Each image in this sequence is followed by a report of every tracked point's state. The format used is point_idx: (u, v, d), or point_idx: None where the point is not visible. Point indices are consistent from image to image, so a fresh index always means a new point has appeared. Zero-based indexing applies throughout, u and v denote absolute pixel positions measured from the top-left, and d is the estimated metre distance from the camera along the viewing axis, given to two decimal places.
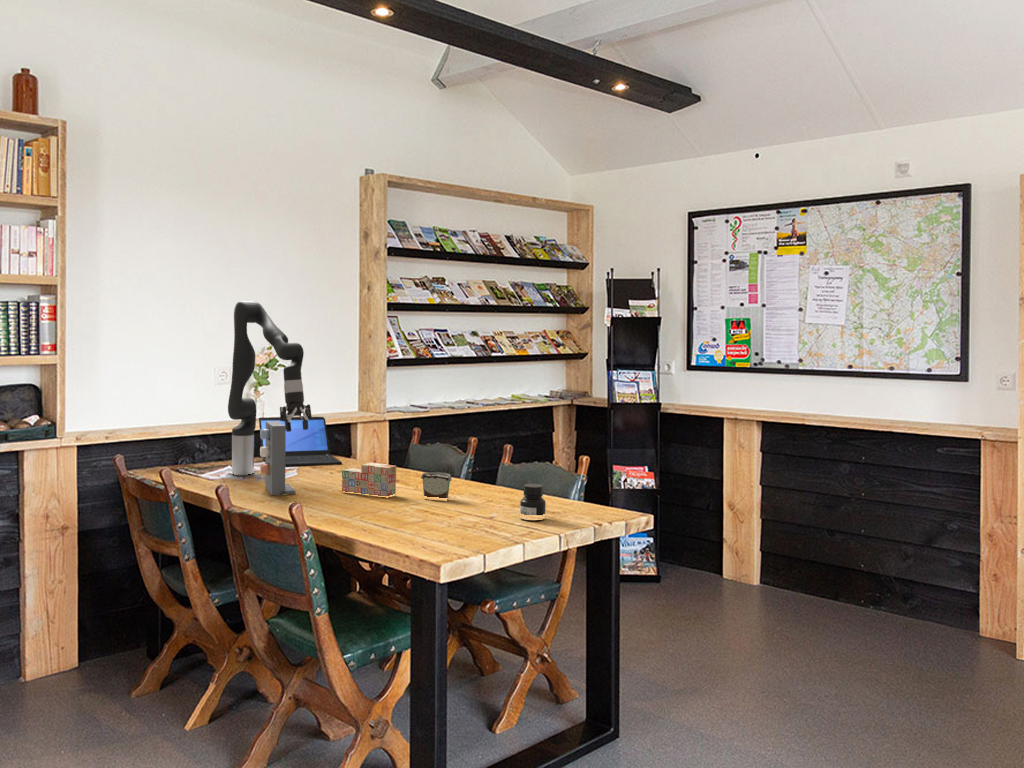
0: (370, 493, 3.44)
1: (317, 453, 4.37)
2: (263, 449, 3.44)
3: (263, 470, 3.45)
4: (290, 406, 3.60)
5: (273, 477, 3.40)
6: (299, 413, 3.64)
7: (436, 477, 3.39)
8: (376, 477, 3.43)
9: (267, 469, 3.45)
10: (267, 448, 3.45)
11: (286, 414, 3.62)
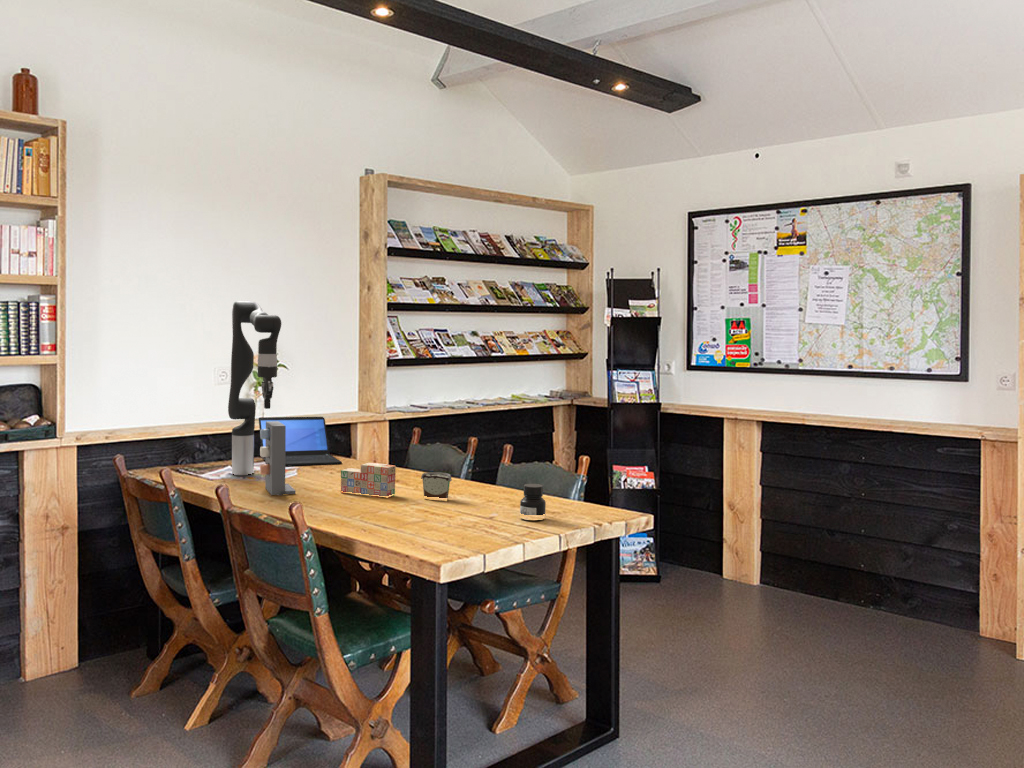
0: (370, 493, 3.44)
1: (317, 453, 4.38)
2: (263, 449, 3.44)
3: (263, 470, 3.45)
4: (271, 381, 3.50)
5: (273, 477, 3.40)
6: None
7: (436, 477, 3.39)
8: (376, 477, 3.43)
9: (267, 469, 3.45)
10: (267, 448, 3.45)
11: (264, 391, 3.51)
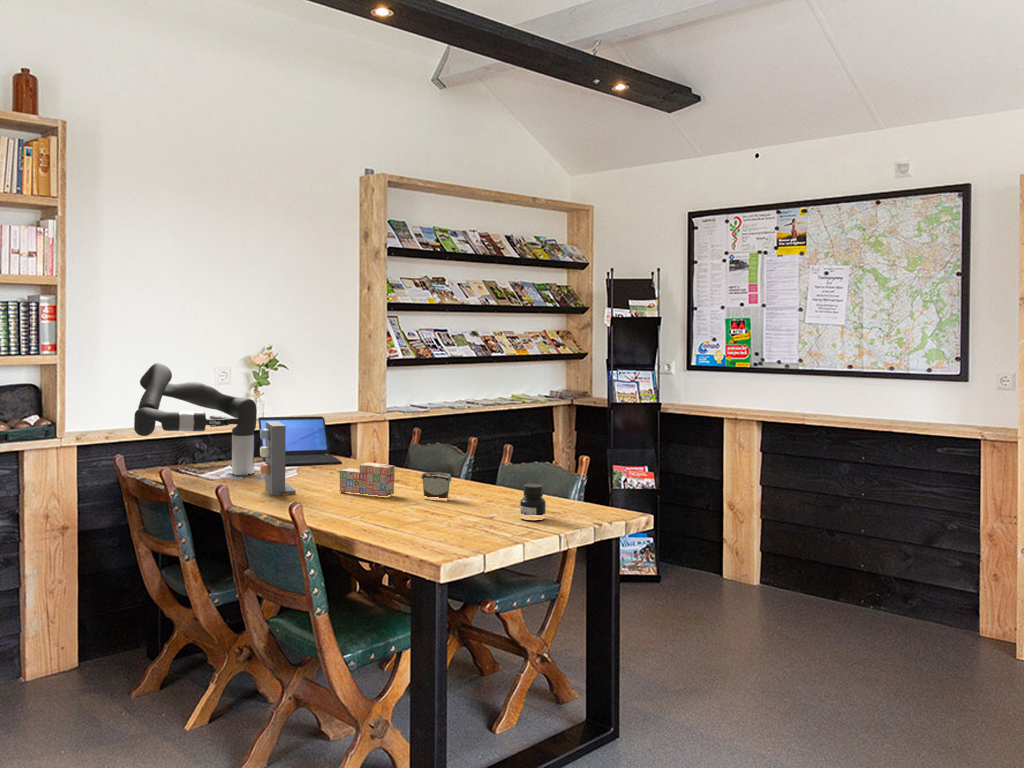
0: (369, 493, 3.44)
1: (317, 453, 4.39)
2: (263, 449, 3.44)
3: (263, 470, 3.45)
4: (210, 419, 3.33)
5: (273, 477, 3.40)
6: None
7: (436, 477, 3.39)
8: (375, 477, 3.43)
9: (267, 469, 3.45)
10: (267, 448, 3.45)
11: None
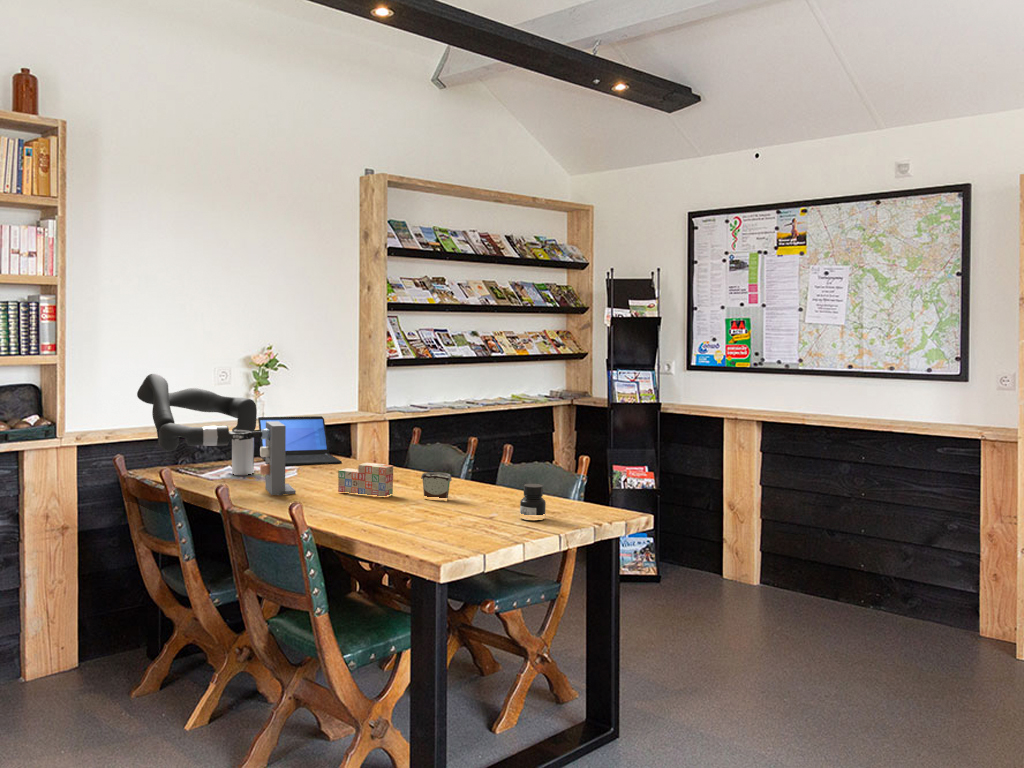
0: (367, 493, 3.44)
1: (316, 452, 4.39)
2: (263, 449, 3.44)
3: (263, 470, 3.45)
4: (233, 433, 3.37)
5: (273, 477, 3.40)
6: None
7: (436, 477, 3.39)
8: (374, 477, 3.43)
9: (267, 469, 3.45)
10: (267, 448, 3.45)
11: None
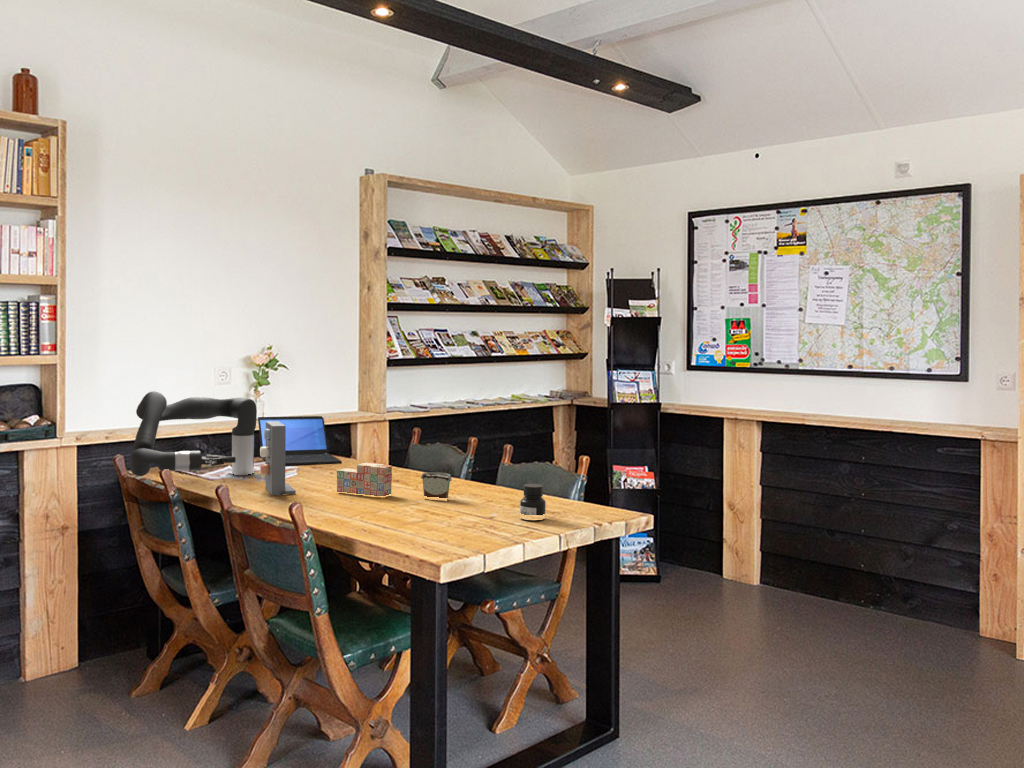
0: (366, 493, 3.44)
1: (316, 452, 4.40)
2: (263, 449, 3.44)
3: (263, 470, 3.45)
4: (206, 458, 3.34)
5: (273, 477, 3.40)
6: None
7: (436, 477, 3.39)
8: (372, 477, 3.42)
9: (267, 469, 3.45)
10: (267, 448, 3.45)
11: None
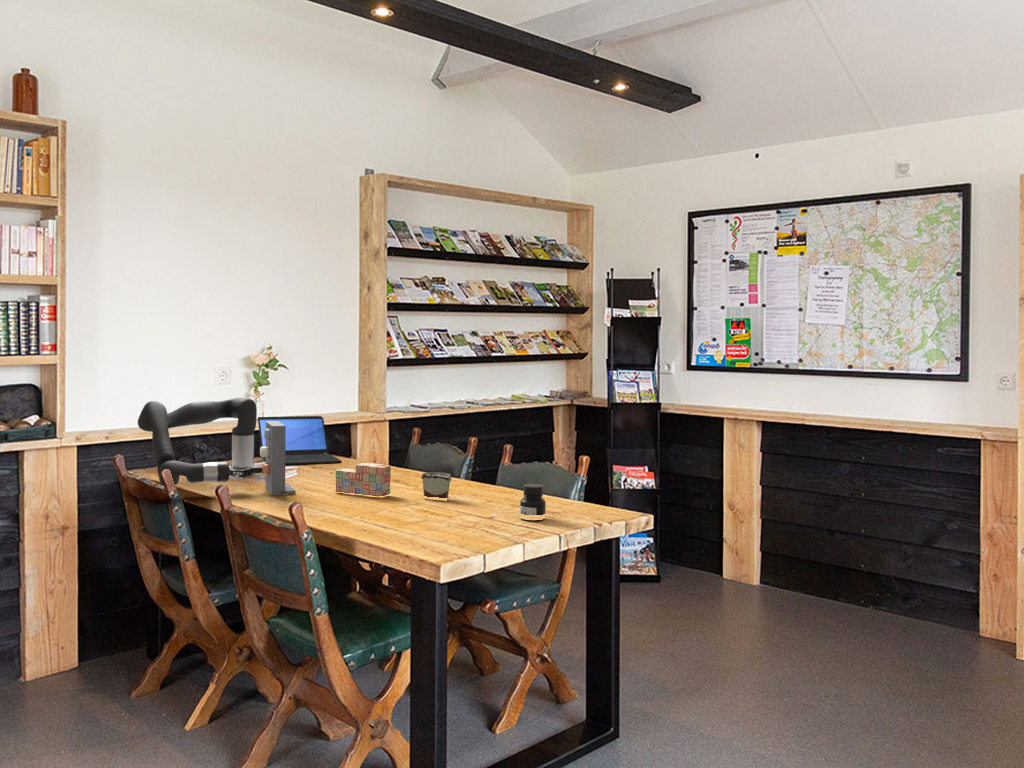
0: (365, 493, 3.44)
1: (316, 452, 4.41)
2: (263, 449, 3.44)
3: (264, 470, 3.45)
4: (233, 470, 3.38)
5: (273, 477, 3.40)
6: None
7: (436, 477, 3.39)
8: (371, 477, 3.42)
9: (268, 469, 3.45)
10: (267, 448, 3.45)
11: None
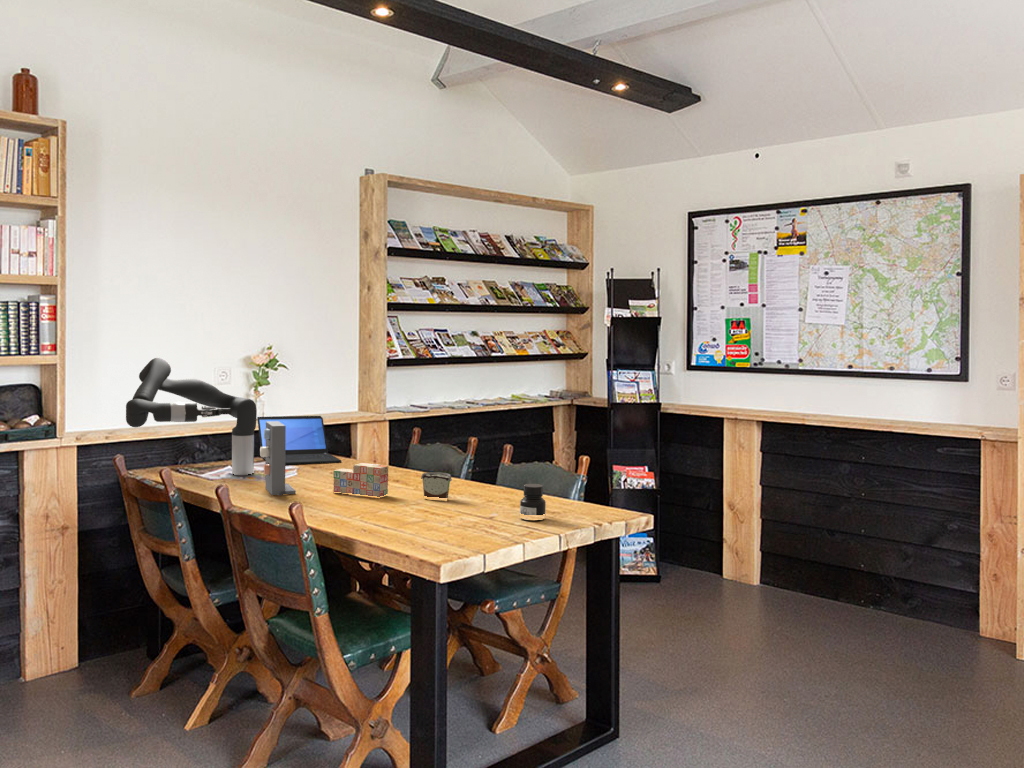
0: (362, 493, 3.43)
1: (315, 452, 4.42)
2: (263, 449, 3.44)
3: (267, 470, 3.45)
4: (202, 409, 3.34)
5: (273, 477, 3.40)
6: None
7: (436, 477, 3.39)
8: (368, 477, 3.42)
9: None
10: (267, 448, 3.45)
11: None
